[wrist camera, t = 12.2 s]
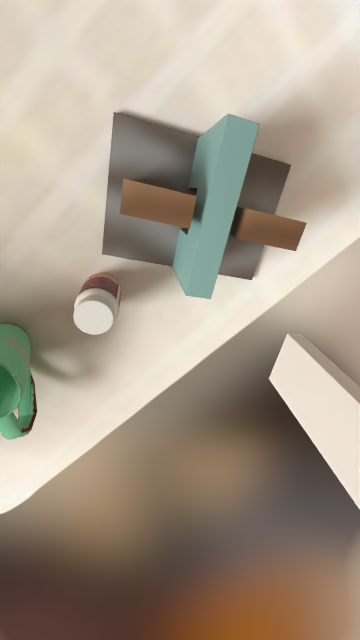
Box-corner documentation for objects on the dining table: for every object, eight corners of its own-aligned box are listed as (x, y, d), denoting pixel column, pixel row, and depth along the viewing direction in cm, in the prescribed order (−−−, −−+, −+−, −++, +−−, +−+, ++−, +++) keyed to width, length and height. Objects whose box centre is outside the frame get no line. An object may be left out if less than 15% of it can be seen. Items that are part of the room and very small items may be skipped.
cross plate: (198, 138, 27) (228, 113, 18) (220, 145, 28) (259, 123, 19) (172, 267, 33) (185, 295, 24) (190, 270, 33) (210, 299, 25)
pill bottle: (77, 279, 33) (59, 305, 25) (112, 267, 33) (105, 290, 25) (93, 311, 35) (82, 344, 27) (126, 300, 35) (124, 329, 27)
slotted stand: (114, 114, 26) (102, 69, 16) (287, 165, 30) (357, 154, 21) (102, 252, 32) (88, 279, 22) (249, 278, 36) (290, 309, 27)
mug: (-50, 318, 32) (-119, 366, 23) (26, 297, 33) (-14, 336, 24) (13, 400, 39) (-23, 460, 30) (75, 382, 39) (58, 437, 31)
